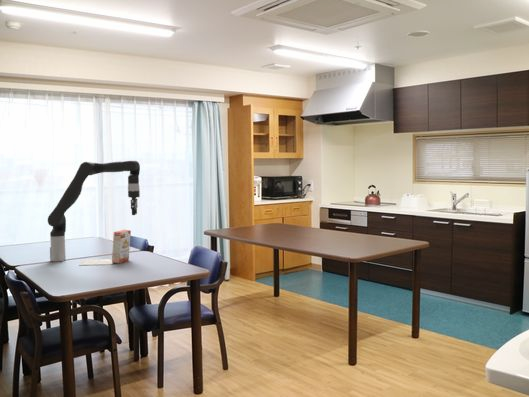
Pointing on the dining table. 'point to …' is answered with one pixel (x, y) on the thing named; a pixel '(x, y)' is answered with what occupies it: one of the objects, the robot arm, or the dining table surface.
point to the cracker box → (121, 246)
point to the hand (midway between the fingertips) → (134, 214)
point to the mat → (97, 262)
